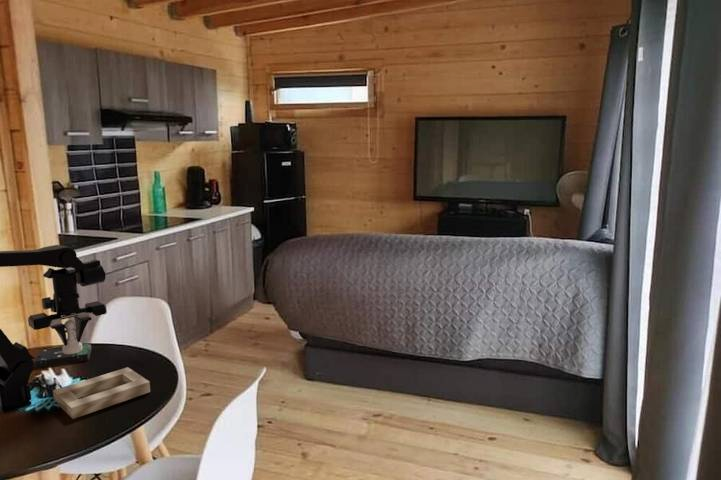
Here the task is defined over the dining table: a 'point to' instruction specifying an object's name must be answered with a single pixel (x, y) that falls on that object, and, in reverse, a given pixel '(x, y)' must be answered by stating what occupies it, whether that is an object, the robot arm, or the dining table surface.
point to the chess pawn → (71, 339)
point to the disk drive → (61, 356)
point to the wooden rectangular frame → (92, 403)
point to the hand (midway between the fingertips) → (71, 343)
